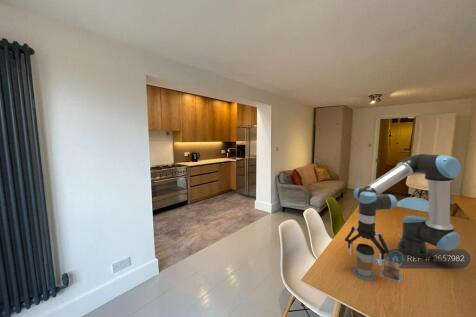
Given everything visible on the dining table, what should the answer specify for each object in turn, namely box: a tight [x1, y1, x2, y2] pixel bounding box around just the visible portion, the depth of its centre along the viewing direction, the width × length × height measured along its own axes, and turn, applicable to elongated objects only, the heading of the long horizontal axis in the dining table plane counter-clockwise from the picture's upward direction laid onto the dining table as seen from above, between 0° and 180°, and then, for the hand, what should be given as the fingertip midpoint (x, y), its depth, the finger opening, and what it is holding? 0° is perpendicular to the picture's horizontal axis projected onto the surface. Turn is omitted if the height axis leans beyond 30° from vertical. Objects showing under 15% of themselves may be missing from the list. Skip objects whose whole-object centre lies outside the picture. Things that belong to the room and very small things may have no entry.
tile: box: [373, 255, 386, 268], centre depth 123 cm, size 9×9×1 cm
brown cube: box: [383, 259, 400, 280], centre depth 109 cm, size 6×6×6 cm
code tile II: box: [379, 267, 403, 284], centre depth 109 cm, size 9×9×1 cm
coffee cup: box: [355, 242, 375, 277], centre depth 110 cm, size 8×8×15 cm
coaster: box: [351, 266, 377, 282], centre depth 110 cm, size 11×11×1 cm
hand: (365, 259), depth 110 cm, fingers open, 13 cm apart
